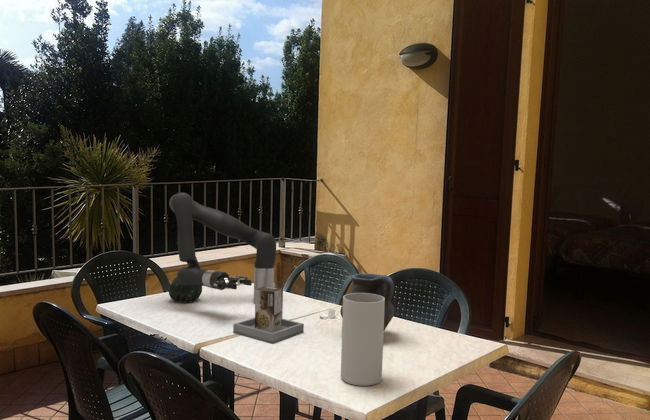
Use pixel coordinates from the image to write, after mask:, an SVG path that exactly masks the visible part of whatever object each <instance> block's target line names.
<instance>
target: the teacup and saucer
mask: <svg viewBox="0 0 650 420" xmlns="http://www.w3.org/2000/svg"><path fill="white" fill-rule="evenodd" d="M336 312H337V313H336ZM338 313H339V311H338V310H337V309H336V308H327V314H324V313H320V314H319V318H321V319H323V320H326V321H330V320H333V319H334V321H339V320H342V319H341V318H342V317H340V316H339V315H338ZM335 318H337V319H335Z"/></svg>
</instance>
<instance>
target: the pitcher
mask: <svg viewBox="0 0 650 420" xmlns="http://www.w3.org/2000/svg"><path fill="white" fill-rule="evenodd" d="M350 279H351V281H352V287H351V290H350V292H349V294H351V293H370V294H376V295H380V296H382V297H384V298H385V308H384V332H385V330H386V329H387V328H388V326H389V324H390V323H391V321H392V319H393V318H394V315H395V312H396V311H395V307H394V305H393V304H392V302H391V300H392V298H393V295H394V292H395V283H394V281H393V279H392V278H391V276H389V275H387V274H377V273H375V274H374V273H355V274H353V275H351V277H350ZM340 316H341V318H343V304H342V305H341V307H340Z"/></svg>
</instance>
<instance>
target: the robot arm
mask: <svg viewBox="0 0 650 420" xmlns="http://www.w3.org/2000/svg"><path fill="white" fill-rule="evenodd" d="M168 202H169V203H168V204H169V209H171V211H172V212H173V213H174V215H175V218H176V224H177V249H178V258H179V261H180V262H183V263H187V267H182V268H181V269H178V271H177V273H176V276H177V278H178V280H179V282H181V283H182V284H186V285H202V287H206V288H210V289H213V290H219V291H223V290H226V289H227V290H229V289H230V290H237V288H238V286H242V285H244V286H249V287H250V286H252V284H253V305H255V289H258V288H260V287H263V286H265V287H273V288H276V283H275V264H276V263H275V262H276V260H277V259H276V257H277V240H276V238H275V236H273V235H272V234H271V233H268V232H264V231H262V230H258V229H257V228H256V229H255V228H253V227H251V226H249V225H247V224H245V223H244V222H242V221H241V220H239V219H238V218H236V217H234V216H232V215H230V214H229V213H226V212H223V211H221V210H219V209H215V208H212V207H209V206H205V205H203V204H200V203H199V202H197V201H195V200H193V198H192V196H190V194H188V193H186V192H177V193H176V194H175V193H174V194H173V195H172V196H171V197H170V199H169V201H168ZM193 220H195V221H196V222H199V223H200V224H202V225H204V226H205V227H207V228H209V229H210V230H213V231H214V232H217V233H219V234H221V235H224V236H226V237H228V238H231V239H236V240H239V241H242V242H243V243H246V244H247V245H250V247H252V248H254V249H255V250H256V252H255V253H256V254H255V255H256V256H255V257H256V258H255V260H254V264H253V265H254V266H253V268H254V270H253V271H254V272H253V282H252V280H251V279H248V277H247V276H239V275H236V276H233V275H232V276H230V275H229V274H228V272H226V271H221V270H220V271H219V270H216V269H215V270H213V269H212V270H211V269H204V268H201V266H200V264H199V261H198V258H197V256H196V248H195V247H196V246H195V239H194V232H193V231H194V230H193Z"/></svg>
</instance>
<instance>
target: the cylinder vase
mask: <svg viewBox="0 0 650 420" xmlns="http://www.w3.org/2000/svg"><path fill="white" fill-rule="evenodd" d="M342 305H343V318H342V317H341V318H342V319H341V320H342V321H341V323H342V324H341V350H340V351H341V352H340V354H341V355H340V377H341V379H342V380H343V382H345V383H347V384H349V385H352V386H353V385H354V386H358V387H368V386H373V385H374V386H375V385H377V384H379V383H380V382H381V381H382V379H383V359H384V357H383V356H384V355H383V353H384V332H385V331H384V308H385V298H384V297H382V296H380V295H376V294H370V293H351V294H350V293H348V294H345V295H343V296H342Z"/></svg>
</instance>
